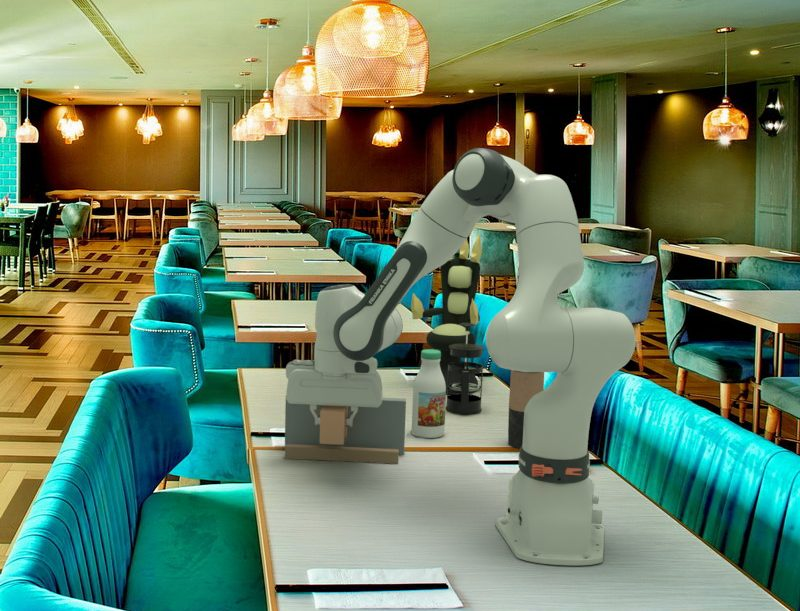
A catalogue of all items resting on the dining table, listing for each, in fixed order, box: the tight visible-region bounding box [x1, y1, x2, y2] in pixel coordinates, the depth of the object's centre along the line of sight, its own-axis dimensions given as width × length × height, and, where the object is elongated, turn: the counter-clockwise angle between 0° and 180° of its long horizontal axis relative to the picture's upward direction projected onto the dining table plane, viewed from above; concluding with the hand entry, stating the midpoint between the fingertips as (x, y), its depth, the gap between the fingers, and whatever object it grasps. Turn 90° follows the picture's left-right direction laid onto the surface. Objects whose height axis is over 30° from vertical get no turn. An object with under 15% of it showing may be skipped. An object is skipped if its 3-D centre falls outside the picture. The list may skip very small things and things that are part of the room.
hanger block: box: [320, 405, 348, 445], centre depth 192 cm, size 7×5×7 cm
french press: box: [445, 323, 485, 416], centre depth 235 cm, size 12×9×23 cm
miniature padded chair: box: [410, 232, 483, 395], centre depth 259 cm, size 19×22×45 cm
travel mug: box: [507, 370, 545, 449], centre depth 207 cm, size 8×8×20 cm
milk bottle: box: [411, 348, 447, 439], centre depth 212 cm, size 8×8×20 cm
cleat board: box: [284, 397, 407, 464], centre depth 195 cm, size 8×26×12 cm, turn 88°
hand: (333, 425), depth 192 cm, fingers closed on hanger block, 5 cm apart
